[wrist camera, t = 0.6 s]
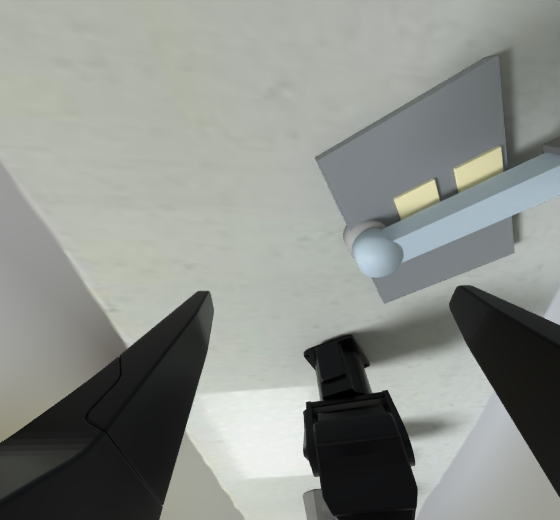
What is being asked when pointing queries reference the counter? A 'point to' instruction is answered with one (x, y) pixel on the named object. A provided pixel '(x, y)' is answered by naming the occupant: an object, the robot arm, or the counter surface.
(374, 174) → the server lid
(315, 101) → the counter surface
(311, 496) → the coffeepot
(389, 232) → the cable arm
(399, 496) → the robot arm
